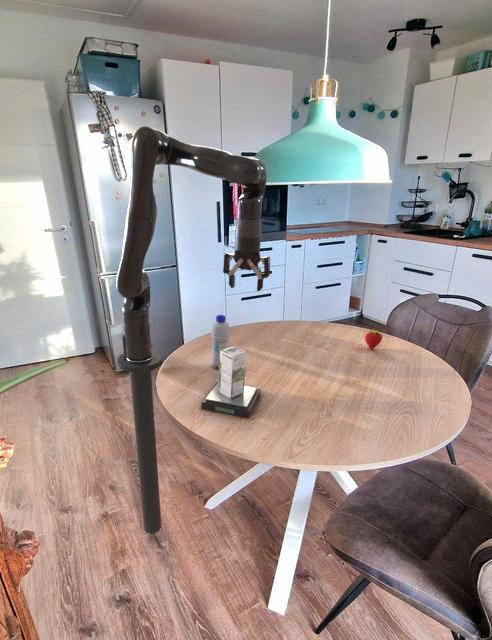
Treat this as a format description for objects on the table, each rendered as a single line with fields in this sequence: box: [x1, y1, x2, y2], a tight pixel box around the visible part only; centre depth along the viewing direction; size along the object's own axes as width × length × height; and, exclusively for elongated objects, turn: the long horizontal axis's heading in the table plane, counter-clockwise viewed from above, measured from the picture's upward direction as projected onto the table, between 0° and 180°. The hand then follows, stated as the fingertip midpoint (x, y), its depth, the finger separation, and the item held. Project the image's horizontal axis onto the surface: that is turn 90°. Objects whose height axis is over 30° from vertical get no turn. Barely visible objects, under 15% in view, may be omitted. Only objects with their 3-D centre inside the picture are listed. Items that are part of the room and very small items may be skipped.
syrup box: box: [218, 345, 247, 398], centre depth 117 cm, size 6×6×14 cm
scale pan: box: [206, 381, 258, 409], centre depth 121 cm, size 13×12×1 cm
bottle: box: [210, 314, 231, 369], centre depth 141 cm, size 7×7×20 cm
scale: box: [200, 381, 262, 419], centre depth 121 cm, size 15×14×2 cm
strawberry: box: [364, 326, 383, 350], centre depth 163 cm, size 6×8×10 cm
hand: (245, 289), depth 120 cm, fingers open, 8 cm apart
